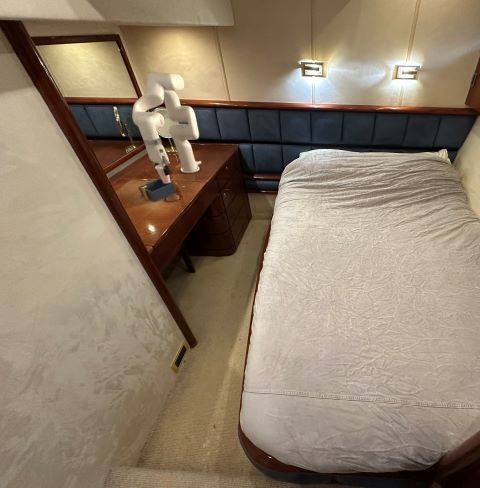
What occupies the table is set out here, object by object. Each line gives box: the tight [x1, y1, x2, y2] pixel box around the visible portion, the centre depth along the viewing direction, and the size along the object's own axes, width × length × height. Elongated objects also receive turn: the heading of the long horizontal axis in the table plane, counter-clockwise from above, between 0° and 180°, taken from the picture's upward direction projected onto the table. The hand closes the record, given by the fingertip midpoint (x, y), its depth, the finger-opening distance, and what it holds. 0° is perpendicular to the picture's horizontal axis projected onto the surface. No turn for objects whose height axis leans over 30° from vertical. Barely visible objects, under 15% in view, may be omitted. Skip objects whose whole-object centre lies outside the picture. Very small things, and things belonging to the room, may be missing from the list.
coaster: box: [165, 194, 180, 203], centre depth 161 cm, size 8×8×1 cm
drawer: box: [137, 177, 177, 202], centre depth 161 cm, size 16×12×8 cm
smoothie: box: [154, 164, 171, 184], centre depth 150 cm, size 6×6×14 cm
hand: (163, 173), depth 151 cm, fingers closed on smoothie, 6 cm apart
